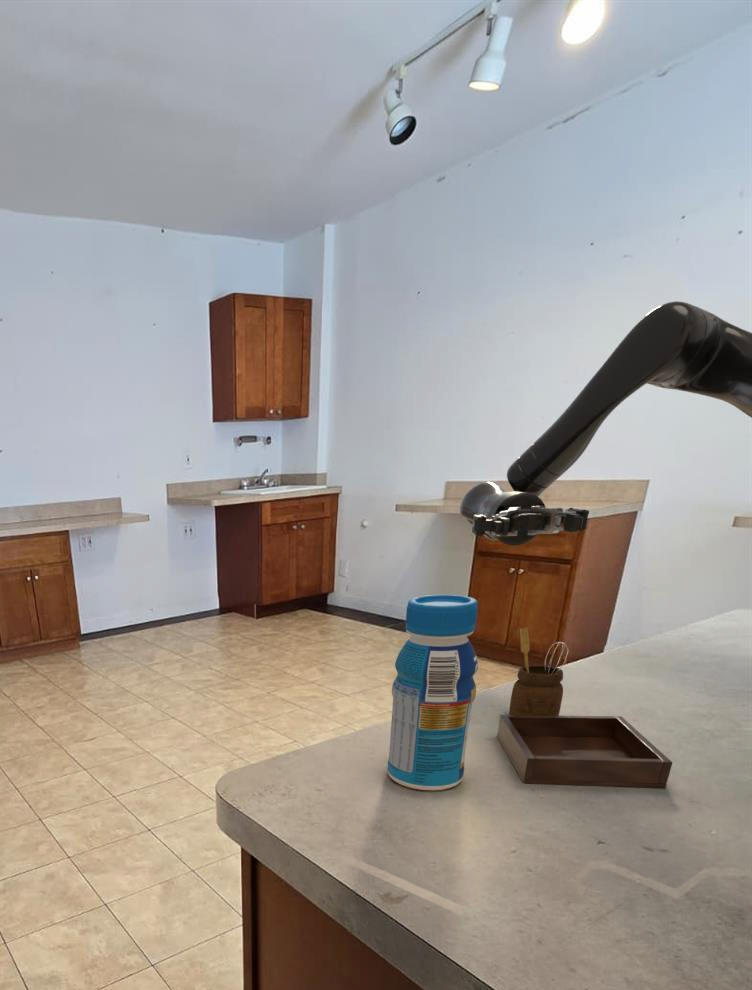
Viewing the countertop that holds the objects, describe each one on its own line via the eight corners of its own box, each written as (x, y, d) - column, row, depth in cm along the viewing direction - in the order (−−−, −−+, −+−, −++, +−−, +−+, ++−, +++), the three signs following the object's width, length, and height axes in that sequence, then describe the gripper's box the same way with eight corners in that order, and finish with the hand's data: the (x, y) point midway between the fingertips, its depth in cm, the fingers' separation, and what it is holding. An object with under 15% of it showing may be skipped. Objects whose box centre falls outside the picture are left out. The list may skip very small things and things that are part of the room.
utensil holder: (541, 731, 82) (557, 639, 77) (496, 718, 87) (509, 631, 82) (567, 720, 85) (585, 631, 80) (522, 708, 90) (536, 624, 85)
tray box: (616, 738, 79) (621, 716, 77) (665, 788, 67) (673, 762, 65) (496, 736, 82) (500, 714, 81) (523, 783, 70) (527, 758, 69)
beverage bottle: (370, 777, 74) (382, 603, 65) (410, 755, 78) (426, 590, 70) (439, 800, 68) (461, 611, 59) (478, 775, 72) (503, 596, 64)
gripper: (466, 495, 100) (487, 499, 86) (567, 488, 97) (606, 491, 82) (460, 545, 103) (480, 557, 89) (558, 540, 100) (595, 552, 85)
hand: (541, 525), depth 86 cm, fingers open, 8 cm apart
